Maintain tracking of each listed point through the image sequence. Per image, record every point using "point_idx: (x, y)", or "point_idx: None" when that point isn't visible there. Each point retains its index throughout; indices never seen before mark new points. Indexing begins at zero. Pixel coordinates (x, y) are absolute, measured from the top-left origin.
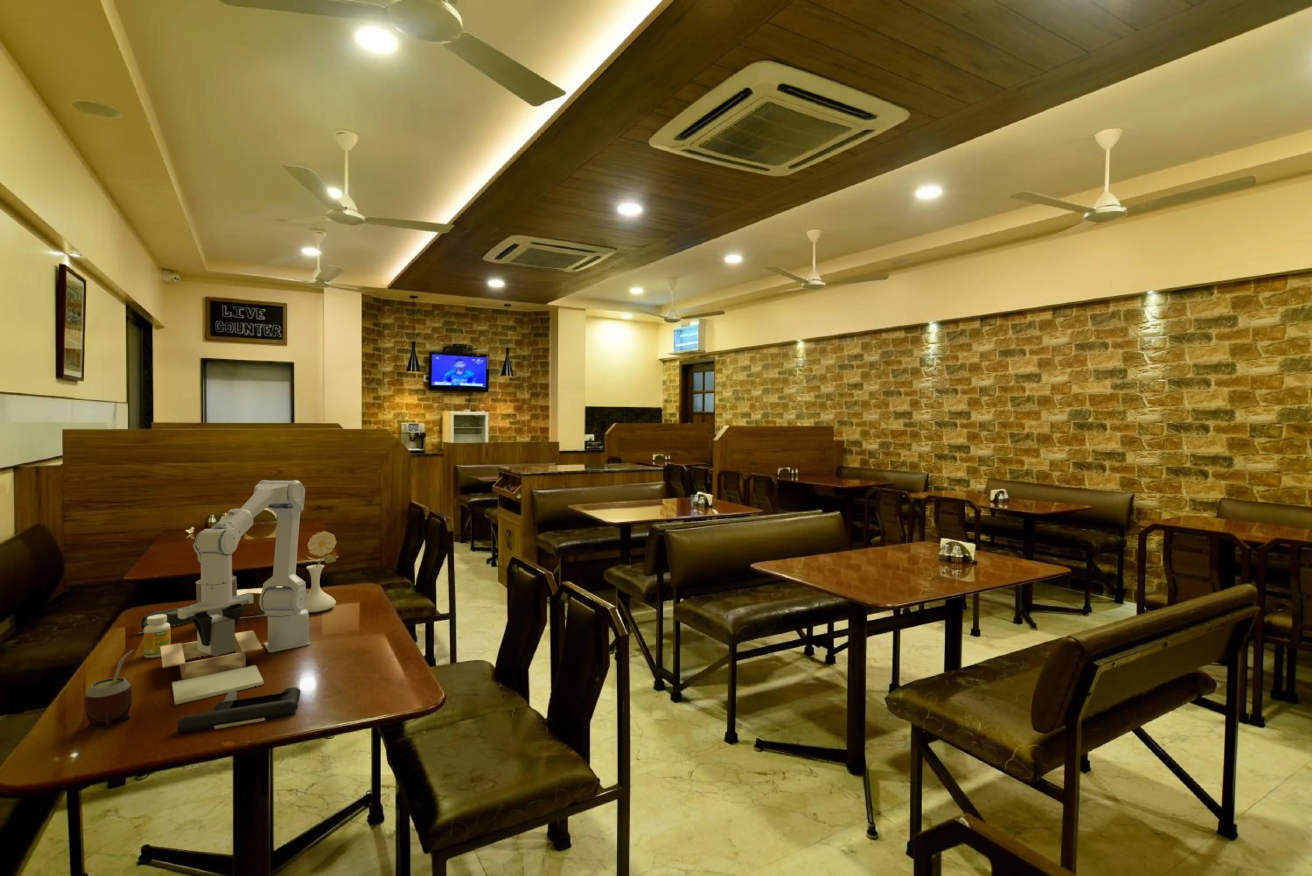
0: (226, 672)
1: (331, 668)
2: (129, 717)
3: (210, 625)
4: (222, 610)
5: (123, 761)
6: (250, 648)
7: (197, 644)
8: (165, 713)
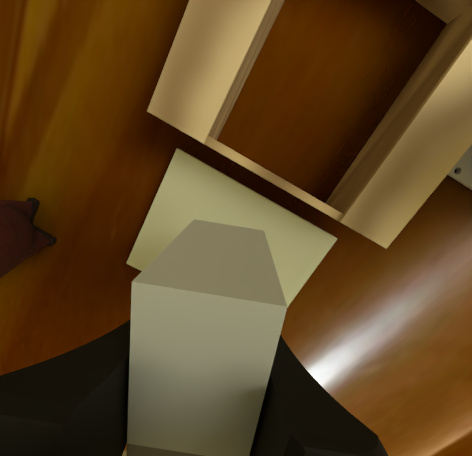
0: (274, 216)
1: (379, 376)
2: (52, 244)
3: (124, 442)
4: (281, 429)
5: (7, 370)
6: (370, 221)
7: (189, 224)
8: (103, 280)
